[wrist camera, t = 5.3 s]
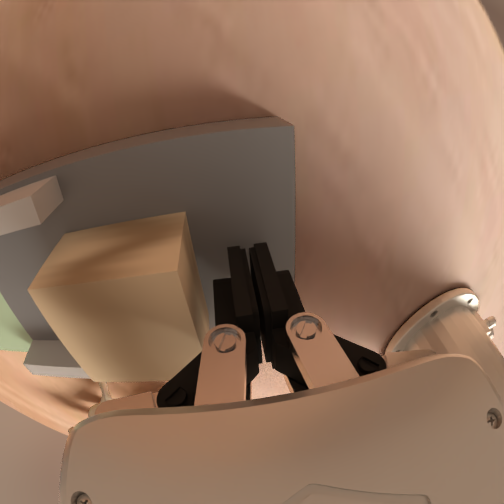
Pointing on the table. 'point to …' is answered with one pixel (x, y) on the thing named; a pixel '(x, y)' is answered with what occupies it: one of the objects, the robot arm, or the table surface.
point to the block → (126, 298)
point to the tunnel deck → (146, 212)
